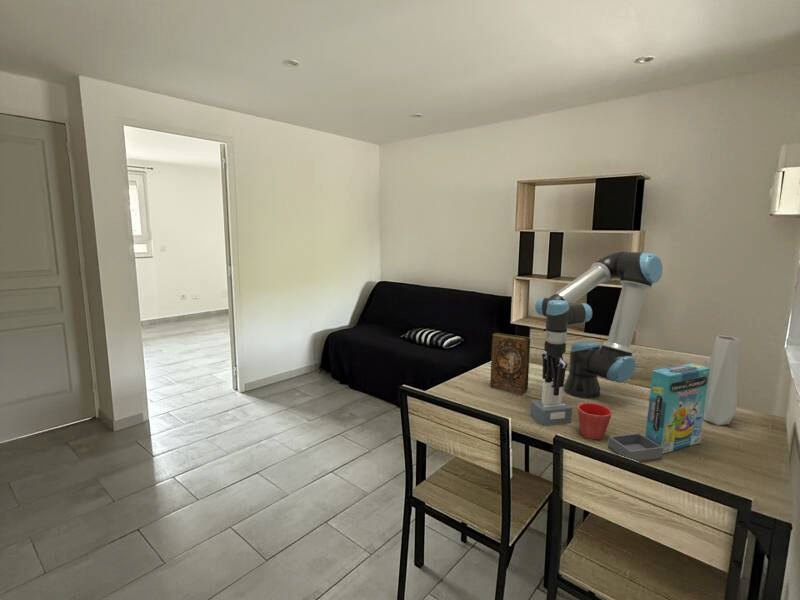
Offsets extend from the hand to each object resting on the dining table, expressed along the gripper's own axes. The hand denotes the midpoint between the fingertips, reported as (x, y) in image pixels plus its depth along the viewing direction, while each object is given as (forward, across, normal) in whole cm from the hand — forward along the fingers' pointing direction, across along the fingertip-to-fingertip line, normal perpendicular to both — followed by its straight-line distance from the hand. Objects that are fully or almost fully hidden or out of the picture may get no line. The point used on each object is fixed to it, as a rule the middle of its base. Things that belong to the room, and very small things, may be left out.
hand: (551, 400), depth 162 cm
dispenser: (+8, 0, 0) cm, 8 cm away
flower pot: (+8, +14, +8) cm, 18 cm away
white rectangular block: (+5, 0, 0) cm, 5 cm away
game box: (+8, +26, +30) cm, 41 cm away
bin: (+8, +28, +13) cm, 32 cm away
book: (+8, -32, -2) cm, 32 cm away
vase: (+8, +14, +61) cm, 63 cm away
